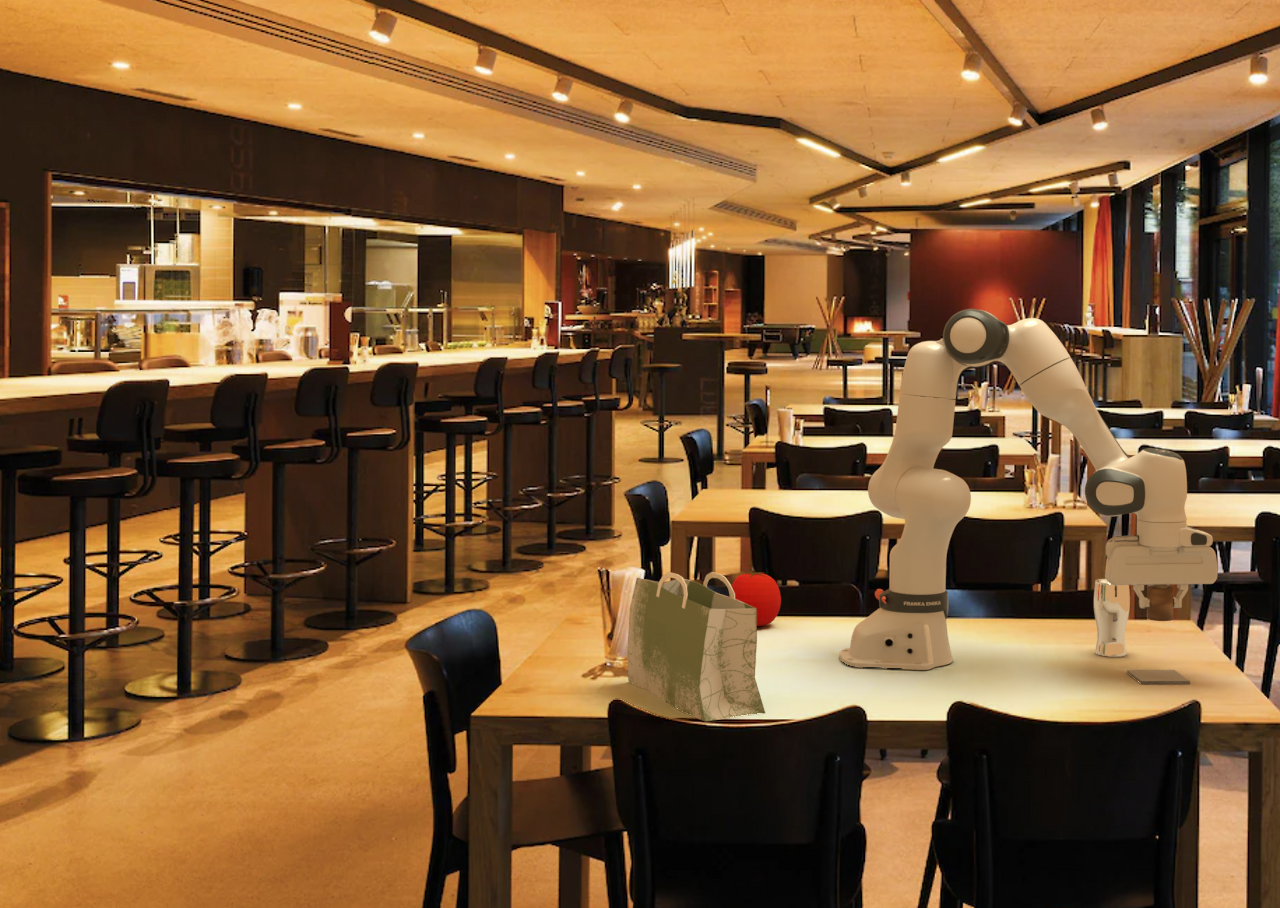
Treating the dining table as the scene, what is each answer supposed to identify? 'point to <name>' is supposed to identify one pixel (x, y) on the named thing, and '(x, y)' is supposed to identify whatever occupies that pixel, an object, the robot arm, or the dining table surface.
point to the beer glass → (1111, 617)
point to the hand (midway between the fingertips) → (1160, 607)
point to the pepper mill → (1160, 603)
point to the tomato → (758, 595)
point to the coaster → (1158, 677)
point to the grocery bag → (694, 647)
